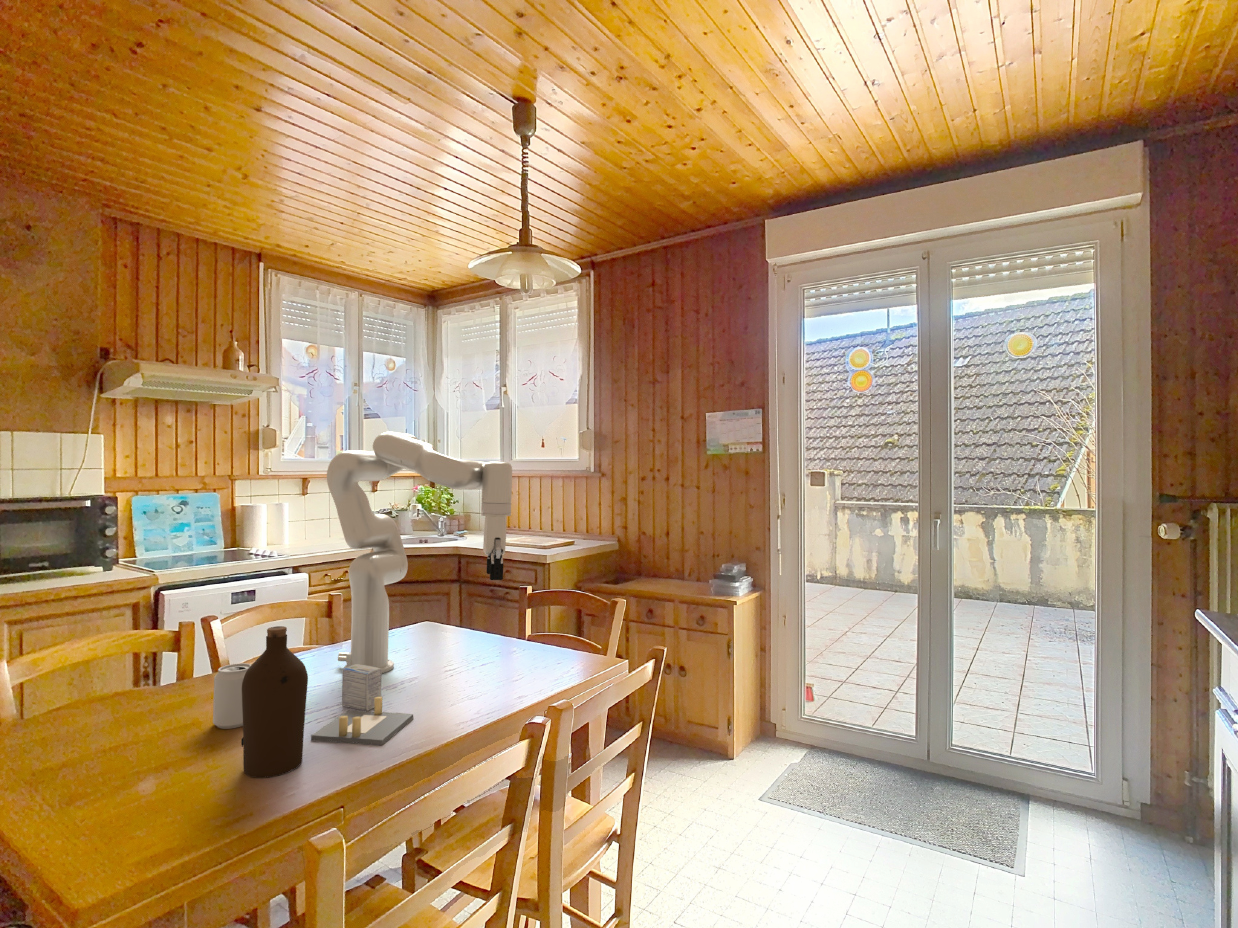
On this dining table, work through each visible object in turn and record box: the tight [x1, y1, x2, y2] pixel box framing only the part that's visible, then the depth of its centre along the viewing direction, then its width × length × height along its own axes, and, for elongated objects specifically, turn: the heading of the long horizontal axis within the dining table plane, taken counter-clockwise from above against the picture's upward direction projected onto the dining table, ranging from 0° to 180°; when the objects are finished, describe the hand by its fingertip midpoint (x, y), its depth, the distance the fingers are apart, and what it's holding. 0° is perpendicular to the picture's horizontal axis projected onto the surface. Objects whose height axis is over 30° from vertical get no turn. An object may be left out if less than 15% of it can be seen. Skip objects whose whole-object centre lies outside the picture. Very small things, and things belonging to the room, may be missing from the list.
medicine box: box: [341, 664, 382, 711], centre depth 147 cm, size 8×4×9 cm, turn 65°
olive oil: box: [240, 625, 309, 779], centre depth 117 cm, size 11×11×25 cm
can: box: [212, 662, 252, 730], centre depth 136 cm, size 8×8×12 cm
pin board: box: [310, 696, 414, 746], centre depth 134 cm, size 15×14×4 cm
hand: (494, 576), depth 164 cm, fingers open, 9 cm apart
